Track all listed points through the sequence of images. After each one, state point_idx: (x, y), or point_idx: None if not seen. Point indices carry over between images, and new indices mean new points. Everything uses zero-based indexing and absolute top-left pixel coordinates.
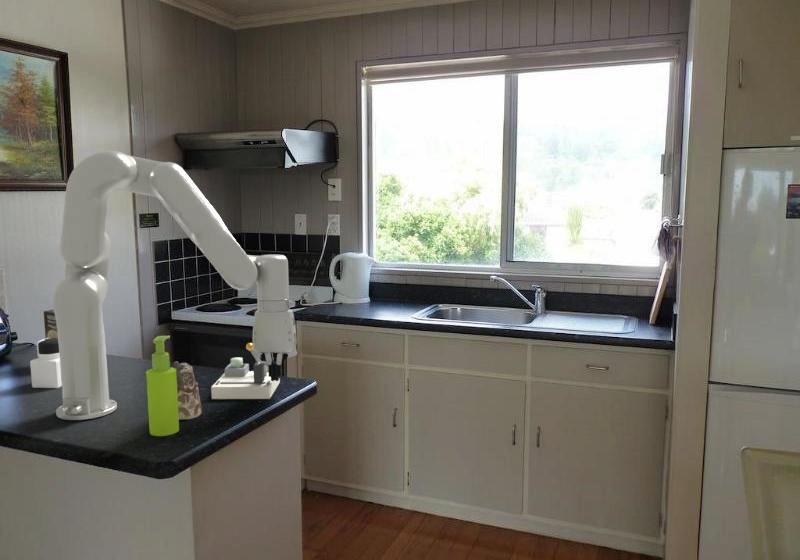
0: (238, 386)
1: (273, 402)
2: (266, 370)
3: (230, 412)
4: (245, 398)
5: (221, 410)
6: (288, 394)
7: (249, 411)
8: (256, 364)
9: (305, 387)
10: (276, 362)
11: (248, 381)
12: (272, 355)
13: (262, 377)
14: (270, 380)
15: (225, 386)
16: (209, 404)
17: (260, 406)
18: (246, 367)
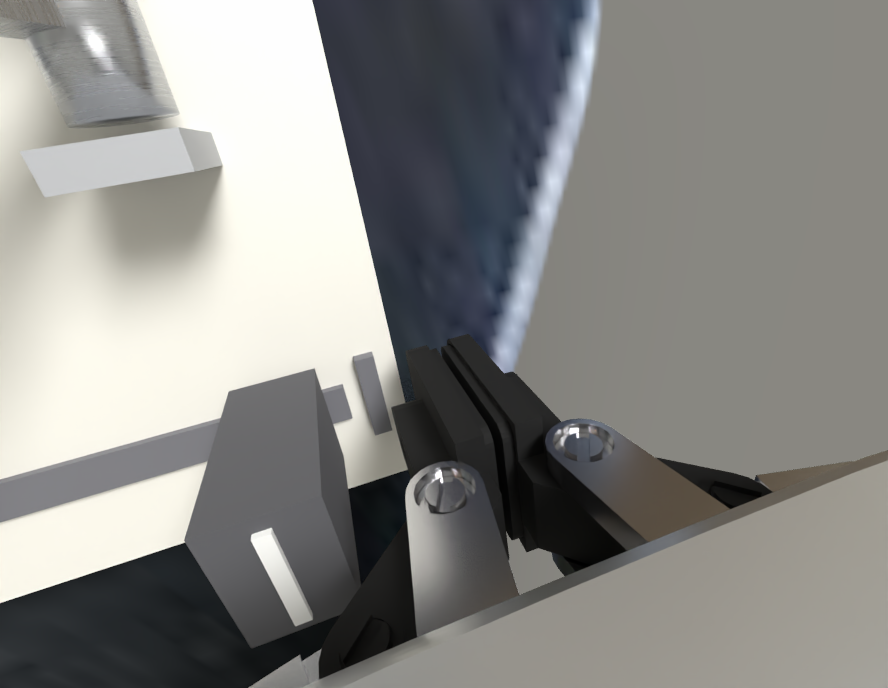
0: (151, 541)
1: None
2: (199, 139)
3: (288, 638)
4: None
5: (218, 641)
6: (490, 298)
7: None
8: (270, 610)
9: (574, 94)
10: (558, 565)
11: (139, 400)
12: (506, 564)
13: (343, 474)
14: (355, 313)
15: (19, 584)
16: (52, 615)
17: (401, 526)
18: None
